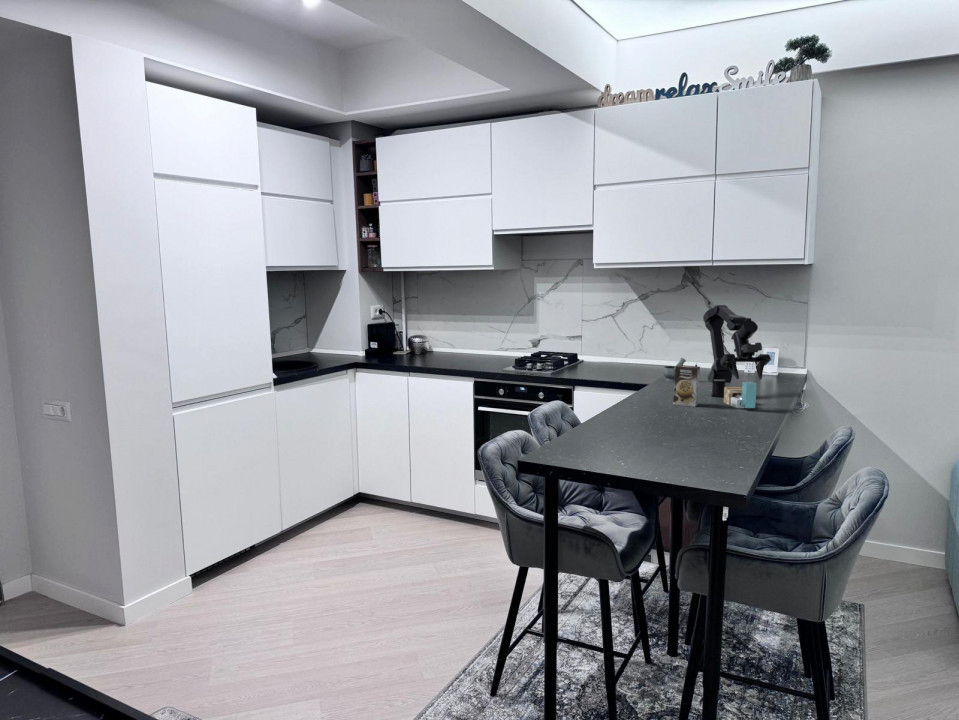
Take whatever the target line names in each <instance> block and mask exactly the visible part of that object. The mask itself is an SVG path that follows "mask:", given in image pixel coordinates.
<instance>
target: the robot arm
mask: <svg viewBox="0 0 959 720" xmlns="http://www.w3.org/2000/svg"><path fill="white" fill-rule="evenodd" d="M702 320H703V322H704V326H705V328H706V329H707V330H708V331H709V334H710V335H709V336H710V340H711V341H710V342H711V348H712V355H713V363H712V365H711V367H710V371H709V374H708V376H707V382H709V383H711V392H710V393H709V395H710V396H711V397H714V398H715V397H716V398H717V397H719V398H721V397H722V398H724V389H725V387H727V385H726V384H727V383H729V384H730V383H731V381H732V379H733V378H732V377H733V376H734V377H735V379H736V380H739V379H740V376H739V375H740V374H739V371H738V367H737V363H754V364H755V369H756V373H757V377H758V379H759V380H762V377H763V373H764V368H765V367H766V366H767V365H768V364H769V363H770V362H771V361H772V357H771V355H770V354H769V353H760V354H759V355H758V356H755V354H756V353H759V351H762V350H763V346H762V345H763V344H762V342H755V343H754V344H752V343H751V342H750V340H749V339H751V338H752V337H753V335H754V334H755V333H756V332H758V331H757V330H758V328H759V327H758V324H757V323H756V322H755V321H754V320H752V317H746V316H743V315H739V314H736V313H735V312H733V311H732V309H730V308H728V305H725V304H716V305H714V307H712V308H710V309H708V310H707V311H706V312H705V313H704V314H703V319H702ZM724 323H726V327H727V329H728V330H729V331H732V332H733V331H734V332H733V334H732V336H731V340H733V345H734V349H733V351H734V353H735V354H736V355H735V354H734V353H725V347H724V341H723V333H722V327H723V325H724ZM754 356H755V357H754Z"/></svg>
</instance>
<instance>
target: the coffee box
mask: <svg viewBox="0 0 959 720" xmlns="http://www.w3.org/2000/svg"><path fill="white" fill-rule="evenodd" d="M676 365H677V364H676ZM676 365H675V382H673V383H674V384H673V385H674V386H673V399H672V400H673V401H672V404H673V405H676V406H684V407H697V406H698V404H699V403H698V401H699V388H700V387H699V385H700V371H701V367H700V366H696V365H685V364H683V365H677V366H676Z"/></svg>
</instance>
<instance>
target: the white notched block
mask: <svg viewBox="0 0 959 720" xmlns="http://www.w3.org/2000/svg"><path fill="white" fill-rule="evenodd" d="M730 406H731V407H734V408H735V409H745V408H744V407H742V406H741V404H740V400H739V399H737V398H735V397H731V405H730Z"/></svg>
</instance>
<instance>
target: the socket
mask: <svg viewBox="0 0 959 720" xmlns="http://www.w3.org/2000/svg"><path fill="white" fill-rule="evenodd" d="M735 393H736V394H739V395H741V396H742V386H726V387H725V389H724V397H723V403H724V404H726V405H729V406H731V397H732V395H733V394H735Z"/></svg>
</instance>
